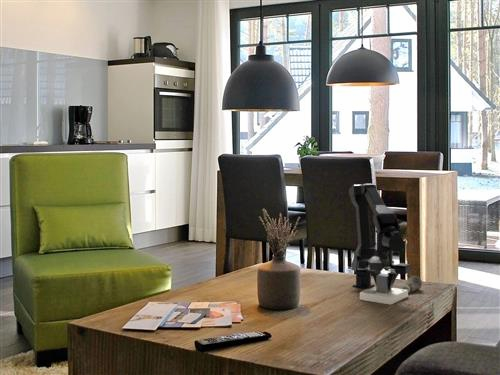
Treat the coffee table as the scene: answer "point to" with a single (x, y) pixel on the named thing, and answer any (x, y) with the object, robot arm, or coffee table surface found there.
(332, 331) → the coffee table surface
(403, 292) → the socket plate
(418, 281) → the stone
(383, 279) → the plug
